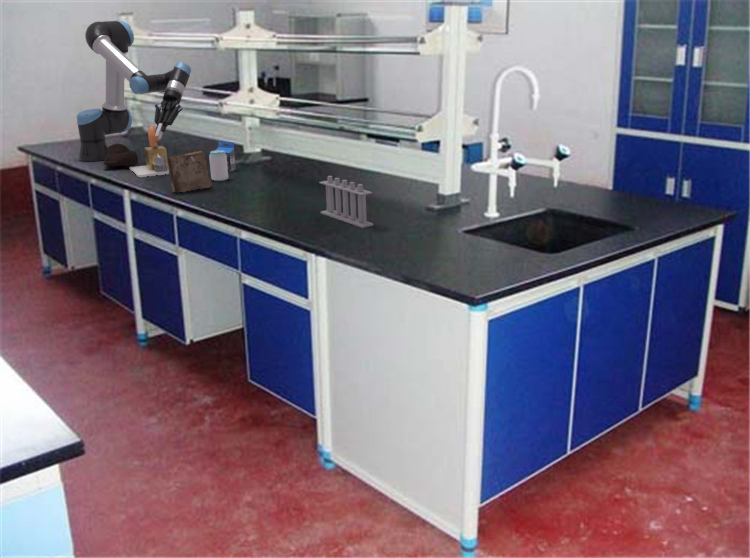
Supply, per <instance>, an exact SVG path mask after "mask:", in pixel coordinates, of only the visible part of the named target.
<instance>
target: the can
mask: <svg viewBox="0 0 750 558" xmlns="http://www.w3.org/2000/svg"><path fill="white" fill-rule="evenodd" d="M208 158H209V168H210V170H209V171H210V178H211V179H210V180H212V181H213V180H214V181H213V182H225V181H227V180H228V179H229V171H228V167H227V156H226V154H225V152H224V151H223V150H216V149H215V150H211V151H210V152H209V155H208Z"/></svg>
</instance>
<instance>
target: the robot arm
mask: <svg viewBox="0 0 750 558" xmlns="http://www.w3.org/2000/svg"><path fill="white" fill-rule="evenodd" d="M85 42H86V44H87V45H88V47H89V49H91V50H92V51H93V52H94V54H96V55H100V56H101V57H102V58H104V60H105V102H104V103H103V104H102V108H91V109H85V110H81V111H79V112H78V113H77V115H76V124H77V128H78V135H79V140H80V147H79V153H78V159H79V161H81V162H98V161H99V162H100V161H104V160H105V158H106V149H107V148H108V147H109V145H108V144H107V139H106V136H107V135H114V134H115V135H116V134H121V133H125V132H127V131H128V130H130V129H131V127H132V124H133V116H132V115H131V111H130V110H129V109H128V106H127V105H126V104H125V79H126V81H128V82H129V88H130V91H131V92H132V93H133V94H135V95H145V94H150V93H163V96H162V101H161V102H160V104H155V105H154V107H155V111H154V121H153V122H154V123H155V125H156V128H155V137H156V138H157V139H159V140H162V137H163V134H164V133H166V129H167V127H168V126H170V127H171V126H172V125H173V124H174V122H175V121H176V119H177V117H178V115H179V113H181V111H183V107H182V106H181V101H182V99H183V94H184V91H185V89H186V87H187V84H188V82H189V78H190V77H191V72H192V69H191V67H190V65H189V64H188V63H185V62H182V61H177V62H176V63H175V64H174V66H173V68H172V69H171V70H169V71H167V72H164V73H159V74H148V75H147V74H146V73H145V72H144V71H143V70H141V68H140V67H138V66H137V65H136V64H135V63H134V62H133V61H132V60H131V59H130V58H129V57H128V56H127V54H128V53H129V47H131V46H132V45H133V44H134V42H135V35H134V31H133V30H132V28H131V26H130V25H129V23H128V22H126V21H123V20H108V21H106V20H104V21H94V22H92V23H91V24H89V25H88V26H87V28H86V30H85Z"/></svg>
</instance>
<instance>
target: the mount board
mask: <svg viewBox="0 0 750 558" xmlns="http://www.w3.org/2000/svg"><path fill="white" fill-rule="evenodd" d="M129 170H130V171H131V172H132V171H133V172H134V173H135V174H136V177H137V178H139V177H140V178H147V176H149V177H156V175H158V176H166V175H170V174H169V169H167V170H168V171H161V172H155V170H151V171H150V170H149V169H148V168H147V167H146V164H144V165H139V166H138V165H135V166H129ZM133 172H132V173H133ZM134 173H133V174H134ZM135 174H134V175H135ZM165 174H166V175H165Z"/></svg>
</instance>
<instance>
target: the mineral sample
mask: <svg viewBox="0 0 750 558" xmlns="http://www.w3.org/2000/svg"><path fill="white" fill-rule="evenodd" d="M167 163H168V169H169V174H168V175H169V178H170V180H169V181H170V184H171V185H170V186H171V190H172V193H173V192H178V193H177V194H180V193H179V192H183V193H187V192H186V191H189V192H192V191H191V190H193V191H197V190H196V189H200V190H205V189H204V188H209V189H210V188H211V187H212V186H213V184H212V181H211V179H210V178H211V177H210V172H209V169H208V161H207V158H206V155H205V152H204V151H203V149H195V150H191V151H186V152H183V153H178V154H175V155H170V156H167Z"/></svg>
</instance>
